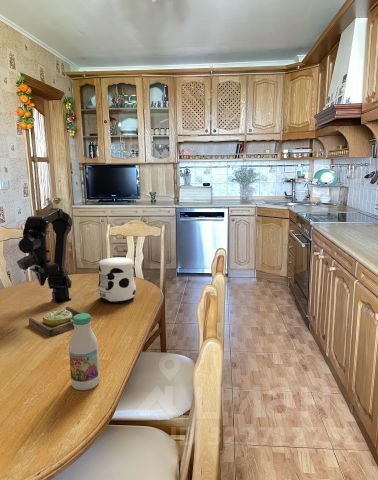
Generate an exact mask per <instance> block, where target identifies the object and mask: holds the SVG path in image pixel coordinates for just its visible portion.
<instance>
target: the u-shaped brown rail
mask: <svg viewBox="0 0 378 480" xmlns="http://www.w3.org/2000/svg"><path fill="white" fill-rule="evenodd" d="M65 310H67V311H69V312H71V313H72V317H74V316H75V315H77V314H82V313H83V312H82V311H80V310H77V309H76V308H73V307H71V306H69V305H68V306H66V307H65ZM28 325H29V326H30V327H33V328H35V329H36V330H37V331H38V332H39V331H40V332H42V333H43V334H45V335H47V336H48V337H50V338H51V337H53V336H56V335H58V334H62V333H64V332H66V331H69V330H72V329H73V330H74V325H73V320H70V321H68V322H67V323H65V324H62V325H59V326H53V327H50V326H48V325H46V324H45V323H44V324H43V323H41V322H40V321H38V320H36V319H34V318H32V317H29V318H28Z"/></svg>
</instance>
